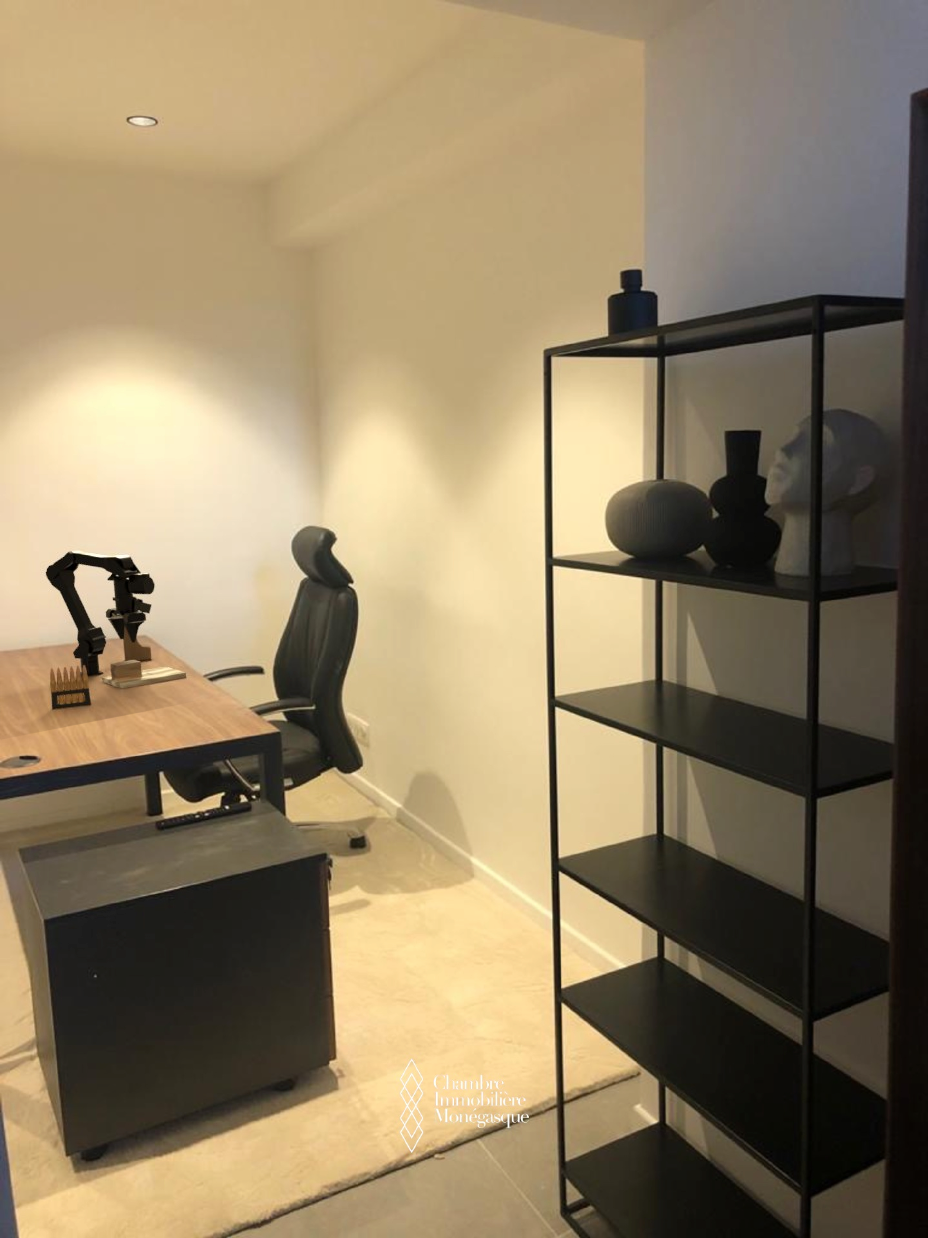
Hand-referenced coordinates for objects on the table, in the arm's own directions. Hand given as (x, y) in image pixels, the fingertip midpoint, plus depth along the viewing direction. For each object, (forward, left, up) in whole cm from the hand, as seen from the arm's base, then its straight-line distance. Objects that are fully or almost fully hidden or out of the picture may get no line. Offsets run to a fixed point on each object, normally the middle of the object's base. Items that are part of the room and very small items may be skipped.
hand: (127, 640), depth 336 cm
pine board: (+8, +1, -12) cm, 15 cm away
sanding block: (+8, -5, -10) cm, 14 cm away
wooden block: (-26, +14, -12) cm, 32 cm away
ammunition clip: (+28, -30, -12) cm, 43 cm away
